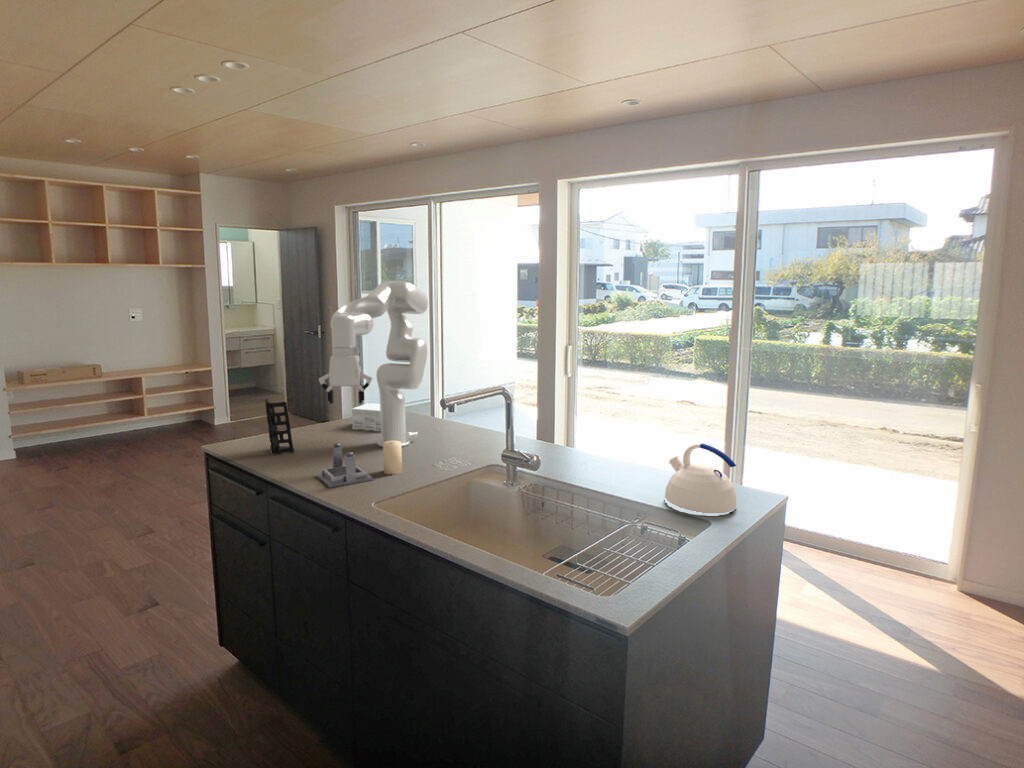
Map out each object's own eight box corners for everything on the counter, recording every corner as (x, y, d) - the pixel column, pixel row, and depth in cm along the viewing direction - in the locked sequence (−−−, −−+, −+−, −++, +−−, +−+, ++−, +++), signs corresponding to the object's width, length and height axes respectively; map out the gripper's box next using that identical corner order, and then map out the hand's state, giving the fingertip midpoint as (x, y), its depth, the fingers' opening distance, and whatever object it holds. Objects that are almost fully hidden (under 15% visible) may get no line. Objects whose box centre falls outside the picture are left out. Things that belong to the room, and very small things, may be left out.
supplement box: (402, 425, 280) (401, 404, 278) (386, 432, 267) (386, 410, 266) (368, 422, 285) (368, 402, 284) (352, 429, 273) (351, 407, 271)
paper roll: (397, 468, 218) (397, 439, 216) (404, 472, 213) (404, 443, 211) (381, 470, 215) (380, 441, 213) (388, 475, 210) (387, 446, 208)
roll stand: (357, 468, 217) (356, 440, 215) (373, 480, 205) (372, 450, 203) (315, 475, 210) (314, 446, 208) (329, 488, 197) (328, 457, 195)
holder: (300, 449, 240) (293, 398, 235) (287, 456, 233) (280, 404, 228) (276, 447, 243) (269, 396, 238) (263, 454, 236) (255, 402, 231)
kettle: (687, 487, 199) (689, 431, 196) (750, 505, 184) (754, 444, 181) (648, 503, 186) (651, 443, 182) (713, 523, 171) (717, 458, 168)
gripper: (372, 350, 215) (373, 400, 218) (319, 350, 214) (322, 401, 217) (369, 353, 208) (371, 404, 211) (315, 353, 206) (317, 405, 209)
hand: (346, 402), depth 214 cm, fingers open, 9 cm apart
